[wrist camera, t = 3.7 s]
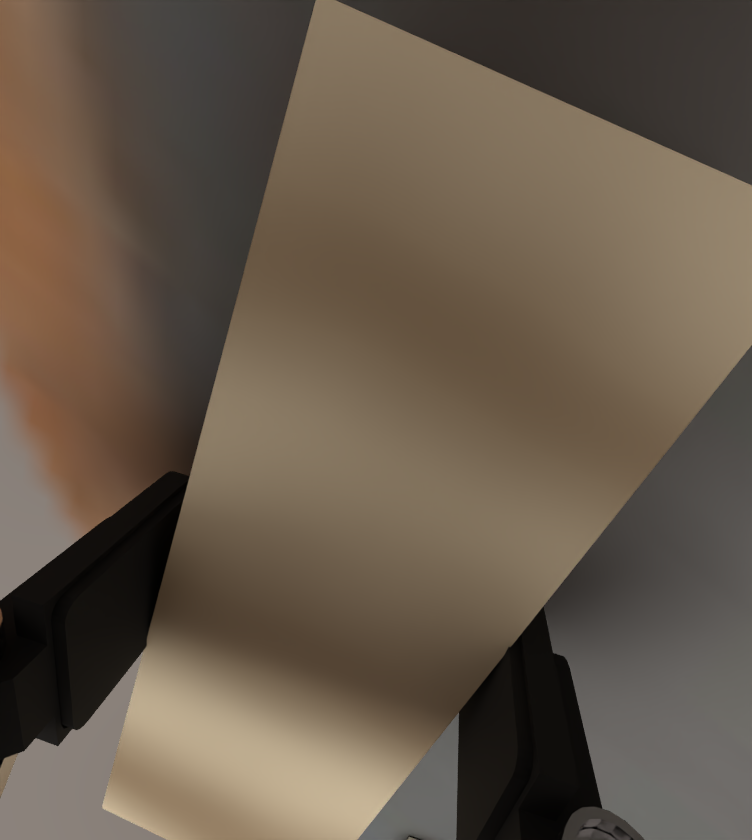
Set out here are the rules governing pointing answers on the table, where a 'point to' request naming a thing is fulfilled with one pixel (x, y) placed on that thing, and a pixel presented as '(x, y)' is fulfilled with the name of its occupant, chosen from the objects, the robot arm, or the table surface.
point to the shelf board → (414, 424)
